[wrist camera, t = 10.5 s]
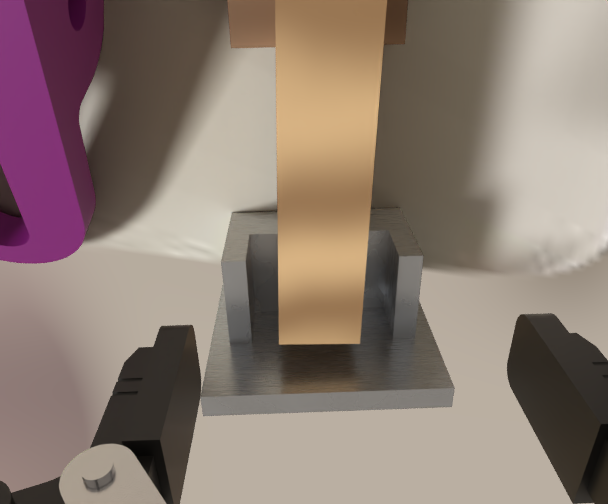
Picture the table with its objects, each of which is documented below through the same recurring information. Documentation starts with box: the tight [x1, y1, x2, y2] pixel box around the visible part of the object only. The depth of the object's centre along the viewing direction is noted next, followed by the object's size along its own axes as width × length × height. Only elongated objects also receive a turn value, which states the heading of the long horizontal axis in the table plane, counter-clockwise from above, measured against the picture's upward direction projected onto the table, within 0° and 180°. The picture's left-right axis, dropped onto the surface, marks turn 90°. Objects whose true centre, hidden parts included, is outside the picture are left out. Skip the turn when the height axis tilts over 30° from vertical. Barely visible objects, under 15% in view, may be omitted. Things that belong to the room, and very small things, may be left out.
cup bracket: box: [200, 208, 455, 416], centre depth 28 cm, size 6×12×10 cm, turn 91°
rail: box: [275, 0, 387, 345], centre depth 24 cm, size 16×4×5 cm, turn 179°
